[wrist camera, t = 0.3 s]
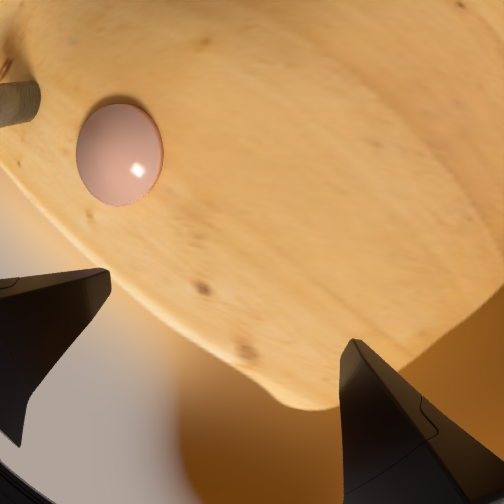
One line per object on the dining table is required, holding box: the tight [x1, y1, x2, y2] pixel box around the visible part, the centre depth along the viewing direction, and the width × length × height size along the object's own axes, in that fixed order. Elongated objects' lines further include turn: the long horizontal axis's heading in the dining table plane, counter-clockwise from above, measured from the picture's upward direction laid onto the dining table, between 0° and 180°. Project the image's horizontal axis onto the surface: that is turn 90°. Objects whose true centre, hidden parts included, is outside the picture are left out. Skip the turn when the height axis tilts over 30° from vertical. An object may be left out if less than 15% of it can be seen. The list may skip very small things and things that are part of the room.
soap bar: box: [76, 104, 163, 206], centre depth 22 cm, size 9×9×1 cm
